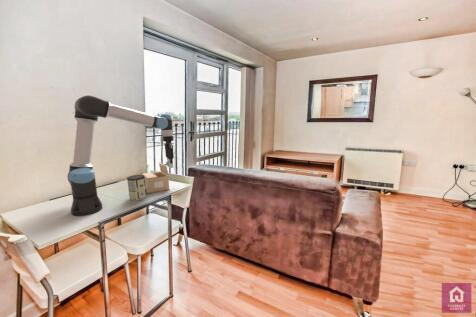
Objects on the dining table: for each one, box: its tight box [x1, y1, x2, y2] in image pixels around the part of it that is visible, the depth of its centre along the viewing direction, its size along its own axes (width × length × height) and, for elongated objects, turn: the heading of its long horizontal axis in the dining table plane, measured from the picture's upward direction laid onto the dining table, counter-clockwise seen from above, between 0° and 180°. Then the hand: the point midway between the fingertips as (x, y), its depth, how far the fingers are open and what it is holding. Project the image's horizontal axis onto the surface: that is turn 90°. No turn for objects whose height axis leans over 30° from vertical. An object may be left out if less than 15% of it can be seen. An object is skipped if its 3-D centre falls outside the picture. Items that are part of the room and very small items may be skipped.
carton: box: [141, 171, 170, 194], centre depth 173 cm, size 14×18×11 cm
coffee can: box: [126, 174, 147, 201], centre depth 154 cm, size 10×10×14 cm
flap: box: [158, 161, 169, 176], centre depth 177 cm, size 8×17×7 cm
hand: (170, 167), depth 178 cm, fingers closed on flap, 4 cm apart
